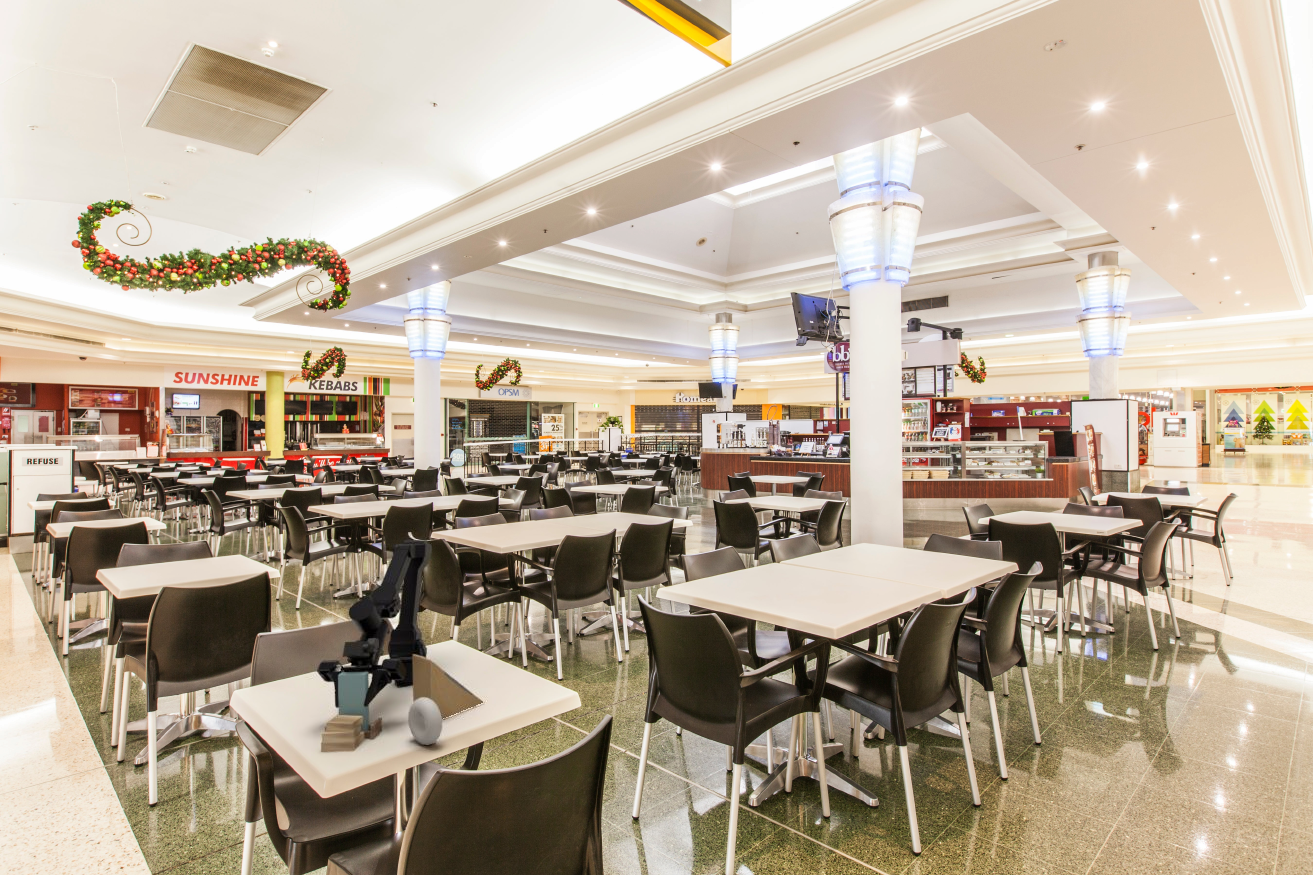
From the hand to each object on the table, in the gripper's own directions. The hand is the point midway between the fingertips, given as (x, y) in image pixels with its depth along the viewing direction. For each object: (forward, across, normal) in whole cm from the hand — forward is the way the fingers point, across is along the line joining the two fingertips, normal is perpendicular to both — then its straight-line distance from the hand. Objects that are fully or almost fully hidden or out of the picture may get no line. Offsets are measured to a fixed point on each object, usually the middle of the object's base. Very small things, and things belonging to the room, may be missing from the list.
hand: (350, 706), depth 142 cm
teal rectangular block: (+4, 0, +6) cm, 7 cm away
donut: (+8, +18, +3) cm, 20 cm away
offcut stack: (+8, 0, +3) cm, 8 cm away
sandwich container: (-5, +18, +16) cm, 24 cm away
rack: (+4, 0, +6) cm, 7 cm away
